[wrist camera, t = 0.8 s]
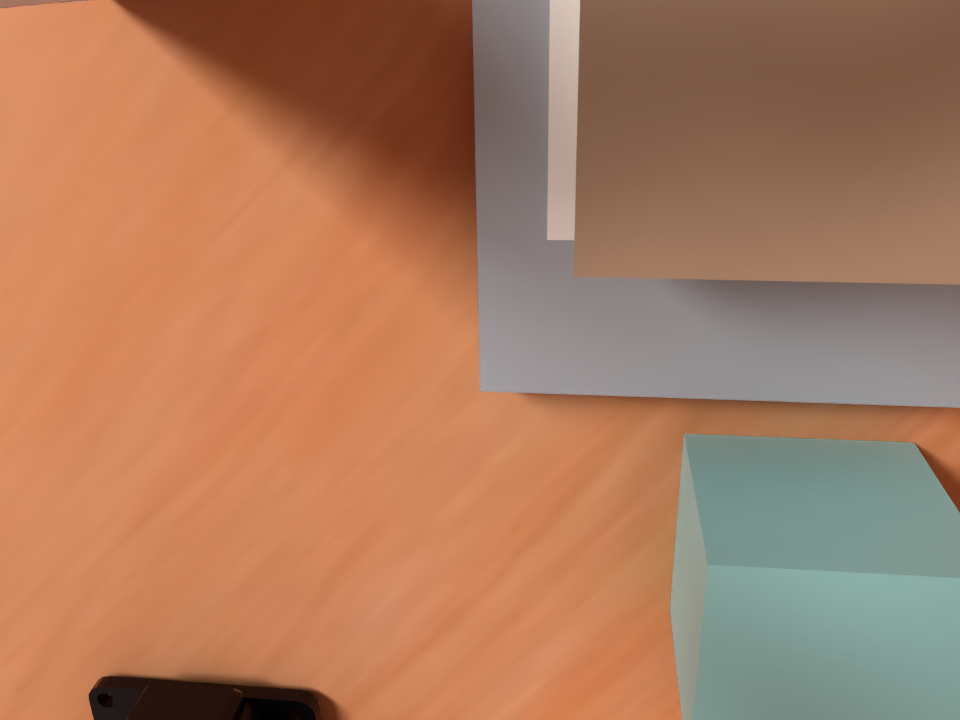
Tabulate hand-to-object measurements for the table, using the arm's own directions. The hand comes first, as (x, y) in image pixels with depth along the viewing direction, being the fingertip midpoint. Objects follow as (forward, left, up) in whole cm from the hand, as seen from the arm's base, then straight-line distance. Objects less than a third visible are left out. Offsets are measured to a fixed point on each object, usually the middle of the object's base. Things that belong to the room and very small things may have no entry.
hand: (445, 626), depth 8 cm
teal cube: (-7, -6, -13) cm, 16 cm away
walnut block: (+4, -4, -11) cm, 13 cm away
